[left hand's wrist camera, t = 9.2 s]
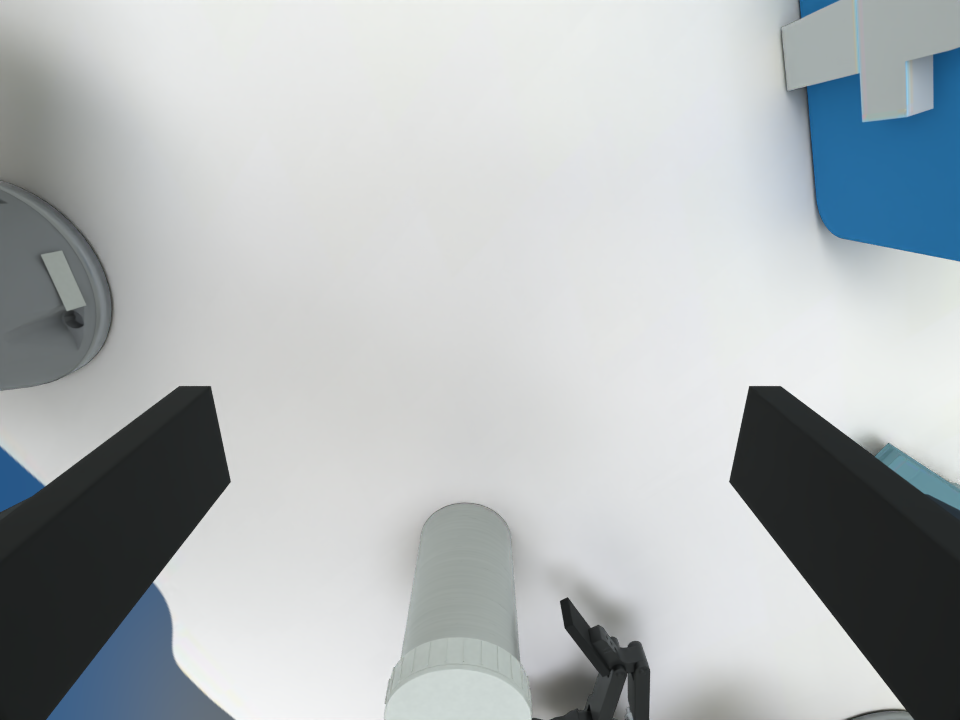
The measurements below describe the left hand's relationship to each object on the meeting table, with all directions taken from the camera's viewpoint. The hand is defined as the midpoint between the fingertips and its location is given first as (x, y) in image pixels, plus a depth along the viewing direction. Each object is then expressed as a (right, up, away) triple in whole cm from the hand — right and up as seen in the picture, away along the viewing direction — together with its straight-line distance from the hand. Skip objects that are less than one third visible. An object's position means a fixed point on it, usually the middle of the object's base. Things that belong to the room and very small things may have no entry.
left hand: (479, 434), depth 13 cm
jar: (-1, -15, +34) cm, 37 cm away
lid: (-1, -20, +19) cm, 28 cm away
